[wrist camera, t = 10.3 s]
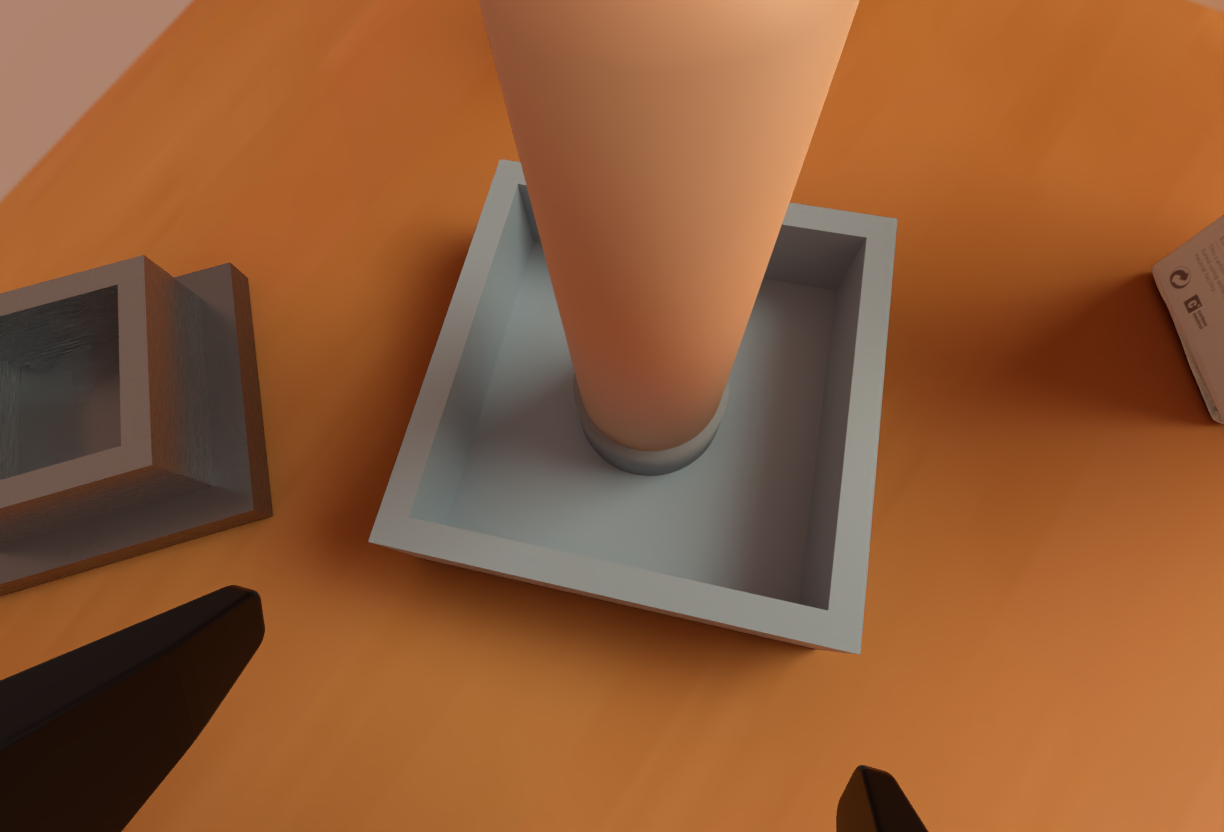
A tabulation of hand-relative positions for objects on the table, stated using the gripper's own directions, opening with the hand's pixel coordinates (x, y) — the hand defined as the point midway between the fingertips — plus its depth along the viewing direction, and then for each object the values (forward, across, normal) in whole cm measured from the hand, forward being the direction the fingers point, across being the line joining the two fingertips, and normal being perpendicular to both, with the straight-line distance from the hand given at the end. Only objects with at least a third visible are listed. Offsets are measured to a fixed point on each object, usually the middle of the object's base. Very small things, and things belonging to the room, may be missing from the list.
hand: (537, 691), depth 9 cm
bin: (+12, 0, +1) cm, 12 cm away
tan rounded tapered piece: (+11, 0, 0) cm, 11 cm away
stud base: (+9, +17, +4) cm, 19 cm away
